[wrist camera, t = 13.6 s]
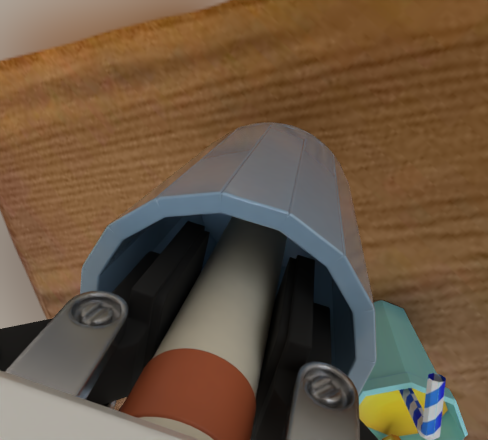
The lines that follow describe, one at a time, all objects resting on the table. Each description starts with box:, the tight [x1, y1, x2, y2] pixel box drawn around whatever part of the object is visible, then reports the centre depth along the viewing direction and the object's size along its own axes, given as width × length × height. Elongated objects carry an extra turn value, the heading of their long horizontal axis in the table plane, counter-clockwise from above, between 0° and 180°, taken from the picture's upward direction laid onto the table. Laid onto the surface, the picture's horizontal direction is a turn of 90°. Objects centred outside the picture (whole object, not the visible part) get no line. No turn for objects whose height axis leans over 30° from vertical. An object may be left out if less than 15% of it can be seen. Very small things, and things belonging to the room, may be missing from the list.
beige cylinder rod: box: [120, 217, 287, 440], centre depth 12 cm, size 2×2×14 cm
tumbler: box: [80, 122, 377, 396], centre depth 14 cm, size 8×8×10 cm
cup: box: [359, 300, 468, 440], centre depth 27 cm, size 14×8×15 cm, turn 3°
